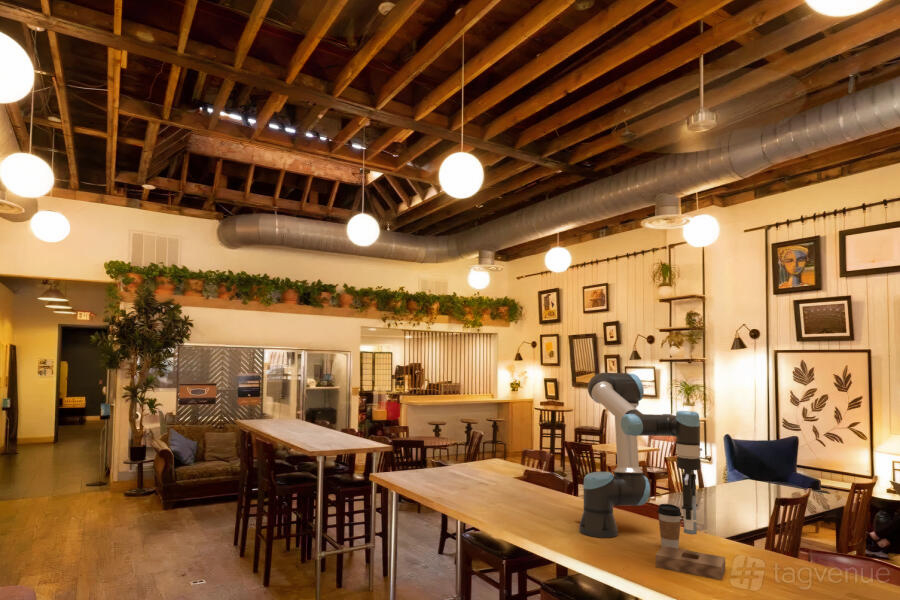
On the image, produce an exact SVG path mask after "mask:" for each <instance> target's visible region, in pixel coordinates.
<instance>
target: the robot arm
mask: <svg viewBox="0 0 900 600" xmlns="http://www.w3.org/2000/svg"><path fill="white" fill-rule="evenodd" d="M587 392H588V395H589V397H590V398H591V399H592V400H593V401H594V402H595V403H597V404H601V405H602V406H603V407H604V408H606V410H608V412H609V413H611V414H612V415H613V416H614V427H615V428H614V429H615V444H616V447H615V448H616V462H617V463H616V464H617V465H616V468H614V470H613V472H611V471H593V472H592V471H591V472H589V473H587V474H586V475H585V476H584V477H583V485H582V487H583V511H582V512H583V513H582V515H581V517H580V522H579V524H578V531H579V532H580V533H581V534H583V535H586V536H587V537H589V536H590V537H595V538H603V539H605V538H609V539H610V538H614V537H616V536H618V535H619V530H618V529H619V528H618V525H617V522H616V519H615V515H614V506H616V507H619V506H620V507H621V506H623V507H624V506H632V507H637V506H643V505H645V504H646V503H647V502H648V501H649V499H650V495H651V485H650V484H651V483H650V482H649V480H650V479H648V477H646V476H645V475H644V471H643V470H642V469H641V468H640V466H639V465H640V461H639V446H638V436H639V437H641V436H642V437H643V436H646V437H647V436H652V437H656V436H657V437H675V438H676V445H675V447H676V455H677V457H676V466H677V468H678V469H681V470H683V474H682V475H681V481H682V506H681V509H682V510H683V509H684V513H683V518H684V520H683V526H684V525H685V529H688V530H694V525H693V510H692V509H693V508H692V495H693V496H696V494H697V493H696V482H697V481H696V479H697V474H696V473H695V471H699V470H701V469H702V465H701V462H702V461H701V458H700V457H701V452H702V451H703V448H702V447H700V446H701V423H700V414H699V413H698V412H697V411H691V410H690V411H689V410H677V411H676V413H675V415H674V414H671V413H663V414H653V413H652V414H651V413H650V414H649V413H648V414H646V413H642V412H641V411H639V410H638V409H637V407H638V406H640V405H639V402H640V401H641V400H643V396H644V392H645V391H644V386H643V381H642V380H641V379H640V377H639V376H638V375H636V374H634V373H629V372H600V373H596V374H595V375H593V376H592V377H591V378H590V380H589V381H588V384H587ZM696 497H697V496H696ZM697 507H698V504H697V503H696V508H697Z"/></svg>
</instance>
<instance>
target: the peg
mask: <svg viewBox="0 0 900 600" xmlns="http://www.w3.org/2000/svg"><path fill="white" fill-rule="evenodd" d="M696 504H697V496H693V495H692V508H693V509H692V510H693V525H694V530H688V529H685V525H684V524H683V533H684V534H687V535H697V534H698V533H697V532H698V531H697V529H698V528H697V527H698V526H697V521H698V519H697V507H696ZM682 511H683V514H684V509H682ZM682 520H683V521H684V517H683V519H682Z"/></svg>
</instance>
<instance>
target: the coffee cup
mask: <svg viewBox="0 0 900 600" xmlns="http://www.w3.org/2000/svg"><path fill="white" fill-rule="evenodd" d="M657 514H658V524H659V535H660V542H661V547H662V546H666V547H672V548H677V549H680V548H679V545H680V534H681V532H680V531H681V516H682V511H681V509H680V507H679V506H678V505H674V504H671V503H660V504H658V509H657Z"/></svg>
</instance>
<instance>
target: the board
mask: <svg viewBox="0 0 900 600" xmlns="http://www.w3.org/2000/svg"><path fill="white" fill-rule="evenodd" d="M655 567H656V568H657V567H658V569H662V568H663V570H668V571H672V572H678V573H683V574H689V575H693V576H697V577H703V578H707V579H708V578H709V579H713V580H717V581H723V579H724V575H725V572H726V557H725V556H721V555H715V554H710V553H703V552H700V551H699V552H697V551H692V550H687V549H681V548H678V549H677V548H672V547H666V546H662V545H661V547H660V549H659V550H658V551H657V553H656V554H655Z"/></svg>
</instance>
